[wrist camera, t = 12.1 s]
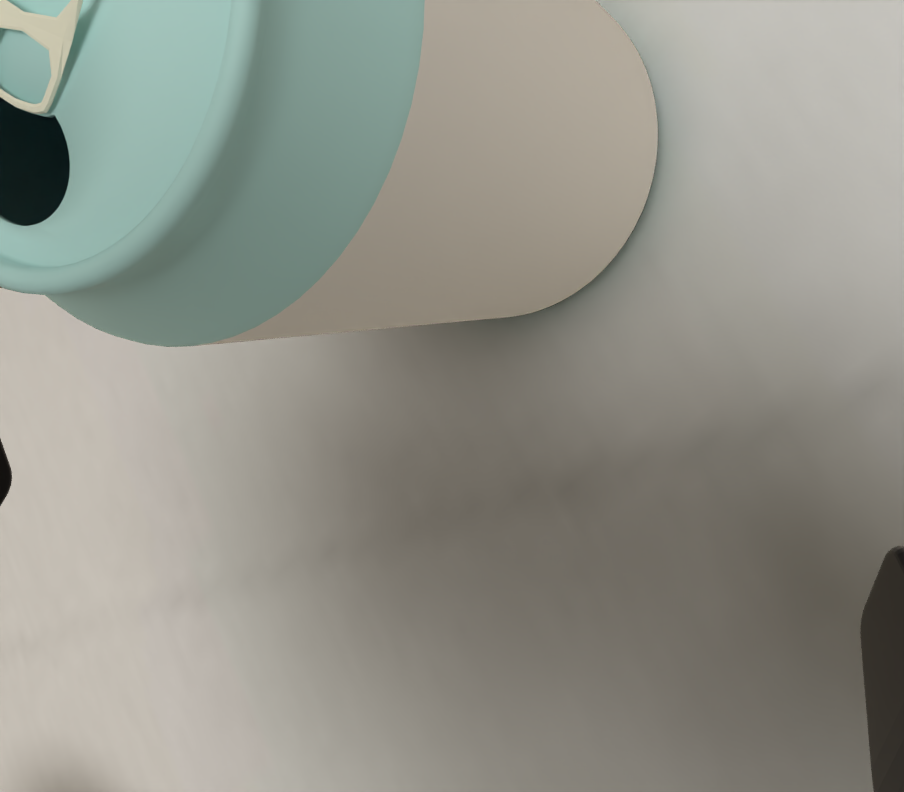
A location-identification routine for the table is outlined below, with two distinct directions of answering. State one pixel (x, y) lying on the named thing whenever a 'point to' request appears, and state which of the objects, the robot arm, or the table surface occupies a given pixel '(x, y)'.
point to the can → (315, 161)
